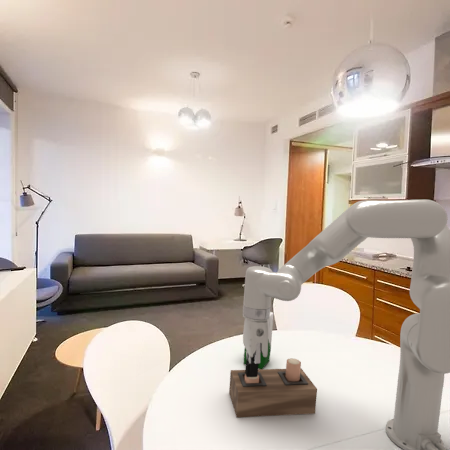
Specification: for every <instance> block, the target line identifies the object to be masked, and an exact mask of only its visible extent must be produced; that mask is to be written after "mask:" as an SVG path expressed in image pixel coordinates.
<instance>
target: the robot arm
mask: <svg viewBox="0 0 450 450" xmlns="http://www.w3.org/2000/svg"><path fill="white" fill-rule="evenodd" d="M447 224H448V213H447V211H446V209H445V207H443V206H442V204H440V203H438V202H437V201H435V200H431V199H401V200H400V199H399V200H374V199H373V200H366V199H364V200H359V201H357V202H355V203H353V204H352V205H350V206H349V207H347V209H346V210H344V212H342V213H341V214H340V215H339V216H338V217H337V218H335V219H334V220H333V221H332V222H330V224H329V225H328V226H327V227H326V228H324V229H323V230H322V231H321V232H320V233H318V234H317V235H316V236H315V237H314V238H313V239H311V240H310V241H309V243H308V244H307V245H306V246H304V247H303V248H302V249H301V250H300V251H298V252H297V253H296V254H295V255H293V257H291V258H290V259H289V260H288V261H287V262H286V263H285V264H284V265H282V266H281V267H280V268H278V270H277V272H275V271H273V270H272V269H271V268H269V267H266V266H260V265H254V266H253V265H252V266H249V267H248V268H246V271H245V276H244V278H245V279H244V289H243V290H244V292H243V303H242V304H243V305H242V318H243V319H244V322H243V334H242V344H243V346H244V349H245V348H246V350H247V351H246V359H247V360H246V364H245V367H244V368H245V369H244V370H245V374H246V376H247V377H257V376H258V369H259V368H258V364H260V351H261V353H262V355H263V356H264V357H267V355H268V320H269V319H270V312H271V306H272V298H273V299H276V300H278V301H279V300H280V301H284V302H291V301H295V300H296V299H297V298H299V296H300V295H301V291H302V285H304V284H305V282H307V281H308V280H309V279H310V278H311V277H312V276H314V275H315V274H316V273H318V272H319V271H321V270H322V269H324V268H326V267H329V266H333V265H335V264H337V263H338V262H339V263H340V261H342V260H343V259H344V258H345V257H346V256H347V255H349V254H350V253H351V252H352V251H353V250H355V248H357V247H358V246H359V245H360V244H361V243H363V242H364V241H365V240H366V239H368V238H371V239H373V238H375V239H410V240H411V242H412V247H413V262H412V272H411V279H410V286H409V296H410V299H411V301H412V302H413V304H414V305H415V306H416V307H417V308H418V309H419V313H413V314H411V315H409V316H407V317H406V318H405V319H404V321H402V324H401V328H400V332H399V333H400V336H399V337H400V338H399V339H400V341H399V342H400V343H399V344H400V345H399V347H400V356H399V358H400V359H399V368H398V377H397V385H396V394H395V395H396V396H395V403H394V411H393V412H394V414H393V418H391V419H389V420H388V421H387V422H386V424H385V431H386V434H387V437H388V438H389V439H390V440H391V441H392V442H393V443H394V444H395V445H396V446H398V447H399V448H401V449H402V450H448V449H447V448H446V447H445V446H444V445H445V444H444V442H443V440H442V437H441V436H442V434H440V433H439V432H438V431H439V425H440V424H439V423H440V414H441V406H442V398H443V392H444V391H443V390H444V389H443V388H444V383H445V374H450V228H449V226H448V225H447Z"/></svg>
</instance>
